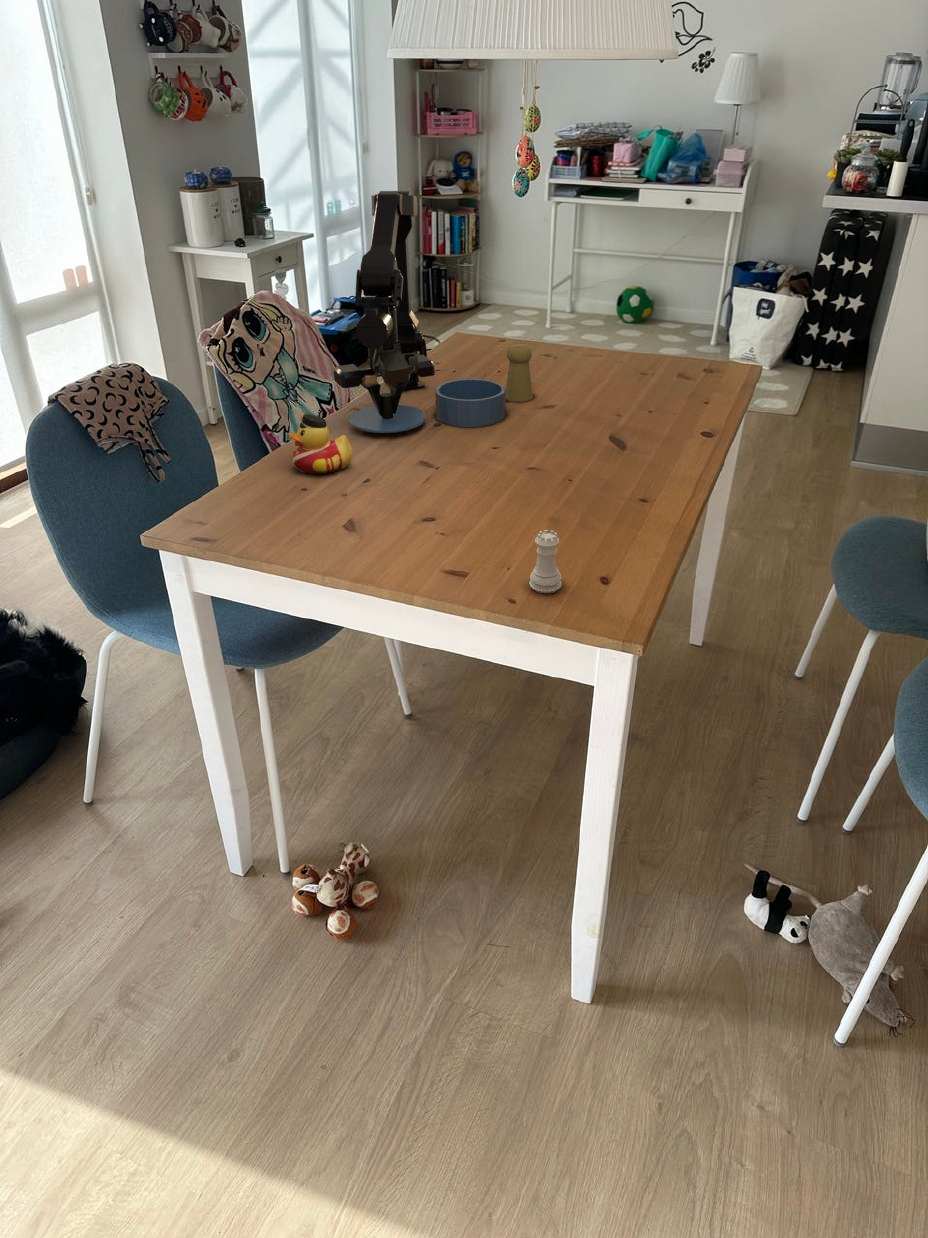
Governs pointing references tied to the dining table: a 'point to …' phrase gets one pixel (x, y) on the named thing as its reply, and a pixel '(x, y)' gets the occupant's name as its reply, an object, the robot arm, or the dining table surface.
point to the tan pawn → (519, 374)
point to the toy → (318, 447)
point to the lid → (387, 417)
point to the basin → (470, 402)
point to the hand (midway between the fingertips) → (387, 414)
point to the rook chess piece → (546, 564)
